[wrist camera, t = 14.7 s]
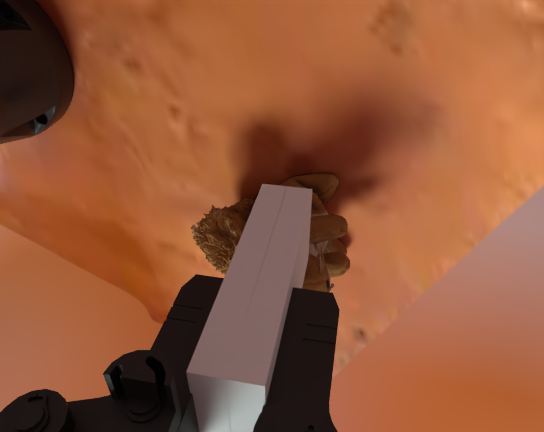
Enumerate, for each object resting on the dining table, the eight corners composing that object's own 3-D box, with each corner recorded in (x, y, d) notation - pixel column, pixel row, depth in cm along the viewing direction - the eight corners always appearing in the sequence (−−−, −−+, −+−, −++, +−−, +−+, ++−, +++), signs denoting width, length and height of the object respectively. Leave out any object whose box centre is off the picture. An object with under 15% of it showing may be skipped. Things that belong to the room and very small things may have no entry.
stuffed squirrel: (352, 253, 49) (342, 356, 38) (224, 243, 52) (183, 336, 41) (356, 172, 43) (347, 268, 33) (212, 165, 46) (161, 251, 35)
